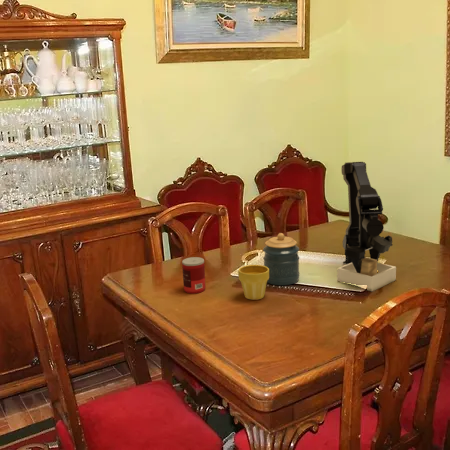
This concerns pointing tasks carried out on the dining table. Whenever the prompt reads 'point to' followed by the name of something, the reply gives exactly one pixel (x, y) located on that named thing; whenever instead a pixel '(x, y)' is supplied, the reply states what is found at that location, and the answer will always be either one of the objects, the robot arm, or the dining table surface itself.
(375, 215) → the robot arm
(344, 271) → the bin
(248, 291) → the plant pot
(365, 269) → the wooden block
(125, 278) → the dining table surface
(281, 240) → the canister
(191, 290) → the canned food
